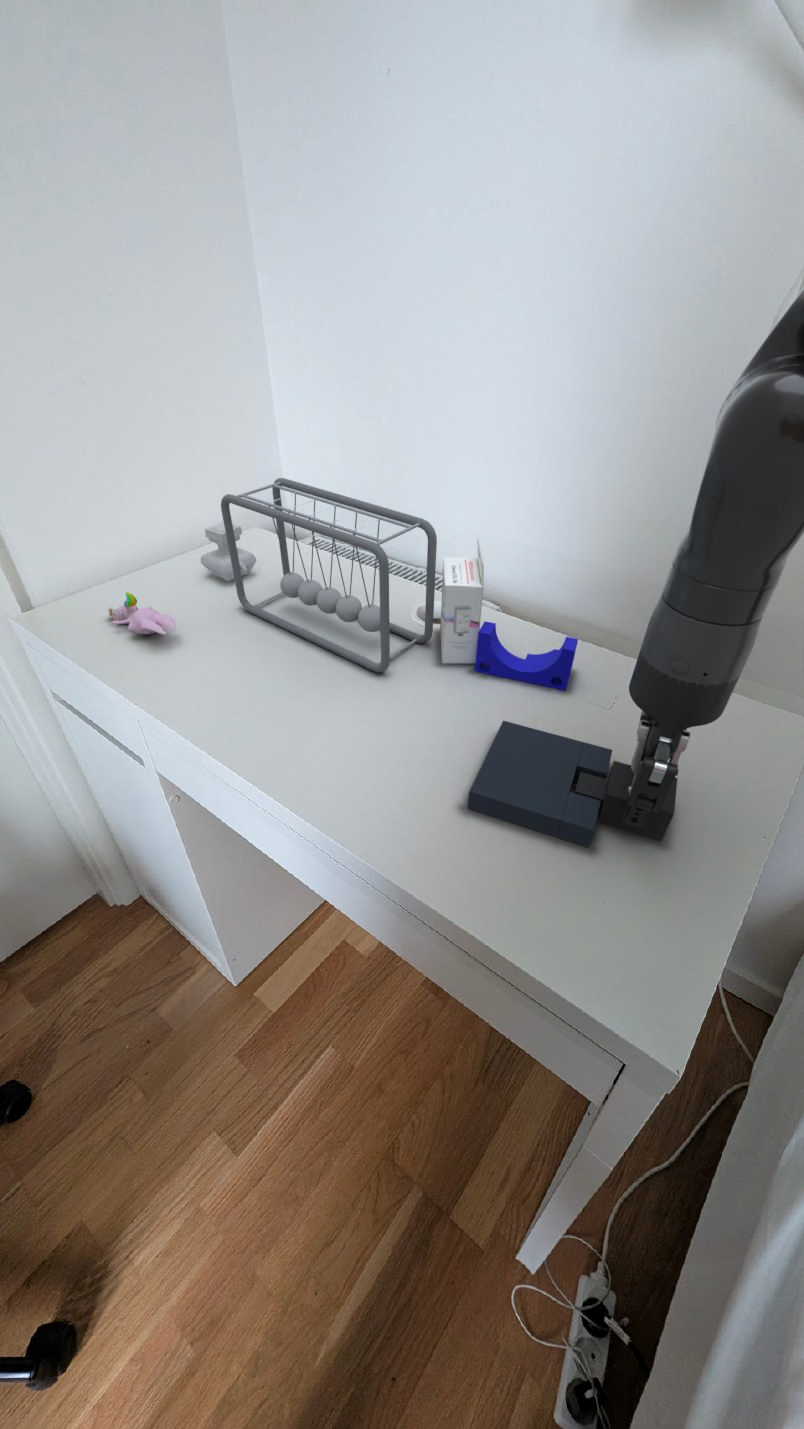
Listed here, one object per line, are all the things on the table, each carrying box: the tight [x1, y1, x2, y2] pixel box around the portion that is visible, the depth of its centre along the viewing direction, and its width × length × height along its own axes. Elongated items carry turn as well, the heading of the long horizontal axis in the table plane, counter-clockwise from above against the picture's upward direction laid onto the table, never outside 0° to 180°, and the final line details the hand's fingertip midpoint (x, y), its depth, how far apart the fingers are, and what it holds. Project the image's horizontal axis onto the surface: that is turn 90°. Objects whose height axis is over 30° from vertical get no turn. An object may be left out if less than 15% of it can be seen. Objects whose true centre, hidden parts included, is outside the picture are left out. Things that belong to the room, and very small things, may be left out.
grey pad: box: [467, 720, 613, 848], centre depth 60 cm, size 12×12×2 cm
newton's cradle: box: [220, 477, 438, 673], centre depth 80 cm, size 30×10×18 cm, turn 51°
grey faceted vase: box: [200, 521, 258, 582], centre depth 96 cm, size 9×7×8 cm
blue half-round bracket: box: [474, 620, 579, 692], centre depth 75 cm, size 12×4×6 cm, turn 69°
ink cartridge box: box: [439, 536, 485, 665], centre depth 77 cm, size 9×5×15 cm, turn 179°
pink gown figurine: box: [107, 592, 177, 636], centre depth 83 cm, size 6×6×15 cm
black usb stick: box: [573, 760, 678, 842], centre depth 57 cm, size 9×5×4 cm, turn 66°
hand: (636, 798), depth 56 cm, fingers open, 6 cm apart
